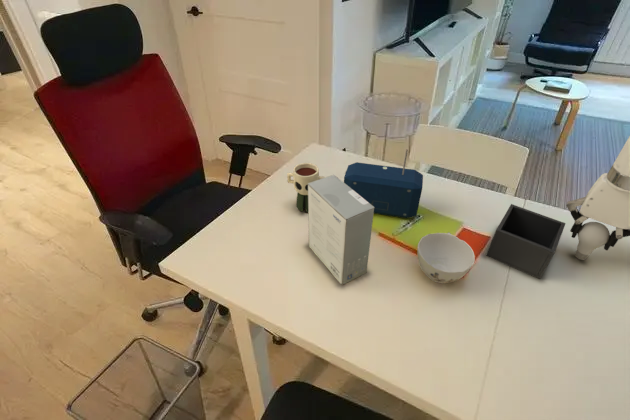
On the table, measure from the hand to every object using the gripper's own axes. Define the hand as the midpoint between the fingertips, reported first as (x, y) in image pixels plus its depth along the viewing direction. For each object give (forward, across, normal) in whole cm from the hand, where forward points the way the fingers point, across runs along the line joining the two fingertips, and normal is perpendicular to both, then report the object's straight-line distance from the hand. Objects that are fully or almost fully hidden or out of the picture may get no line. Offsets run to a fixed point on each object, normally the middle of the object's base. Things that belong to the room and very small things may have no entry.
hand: (589, 240), depth 89 cm
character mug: (+7, +67, +25) cm, 72 cm away
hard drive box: (+7, +48, +37) cm, 61 cm away
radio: (+7, +50, +12) cm, 52 cm away
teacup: (+7, +26, +25) cm, 36 cm away
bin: (+6, +12, +7) cm, 15 cm away
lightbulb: (+6, 0, 0) cm, 6 cm away
